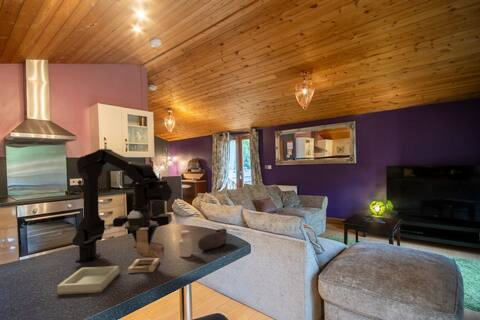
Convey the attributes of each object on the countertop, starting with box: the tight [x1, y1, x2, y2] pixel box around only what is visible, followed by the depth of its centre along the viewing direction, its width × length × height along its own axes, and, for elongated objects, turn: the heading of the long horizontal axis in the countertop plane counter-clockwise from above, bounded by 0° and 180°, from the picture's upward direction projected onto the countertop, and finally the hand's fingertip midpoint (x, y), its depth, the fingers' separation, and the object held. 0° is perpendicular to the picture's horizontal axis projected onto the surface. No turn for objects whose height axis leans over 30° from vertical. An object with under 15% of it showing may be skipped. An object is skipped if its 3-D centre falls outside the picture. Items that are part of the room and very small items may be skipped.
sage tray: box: [56, 265, 120, 296], centre depth 77 cm, size 12×12×2 cm
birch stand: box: [127, 257, 160, 274], centre depth 88 cm, size 8×8×2 cm
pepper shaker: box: [178, 229, 193, 258], centre depth 97 cm, size 4×4×10 cm
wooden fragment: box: [132, 241, 165, 259], centre depth 105 cm, size 26×11×1 cm, turn 34°
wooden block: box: [136, 227, 151, 255], centre depth 88 cm, size 4×4×8 cm
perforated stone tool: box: [197, 227, 228, 251], centre depth 106 cm, size 15×5×7 cm, turn 131°
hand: (143, 244), depth 88 cm, fingers closed on wooden block, 4 cm apart
